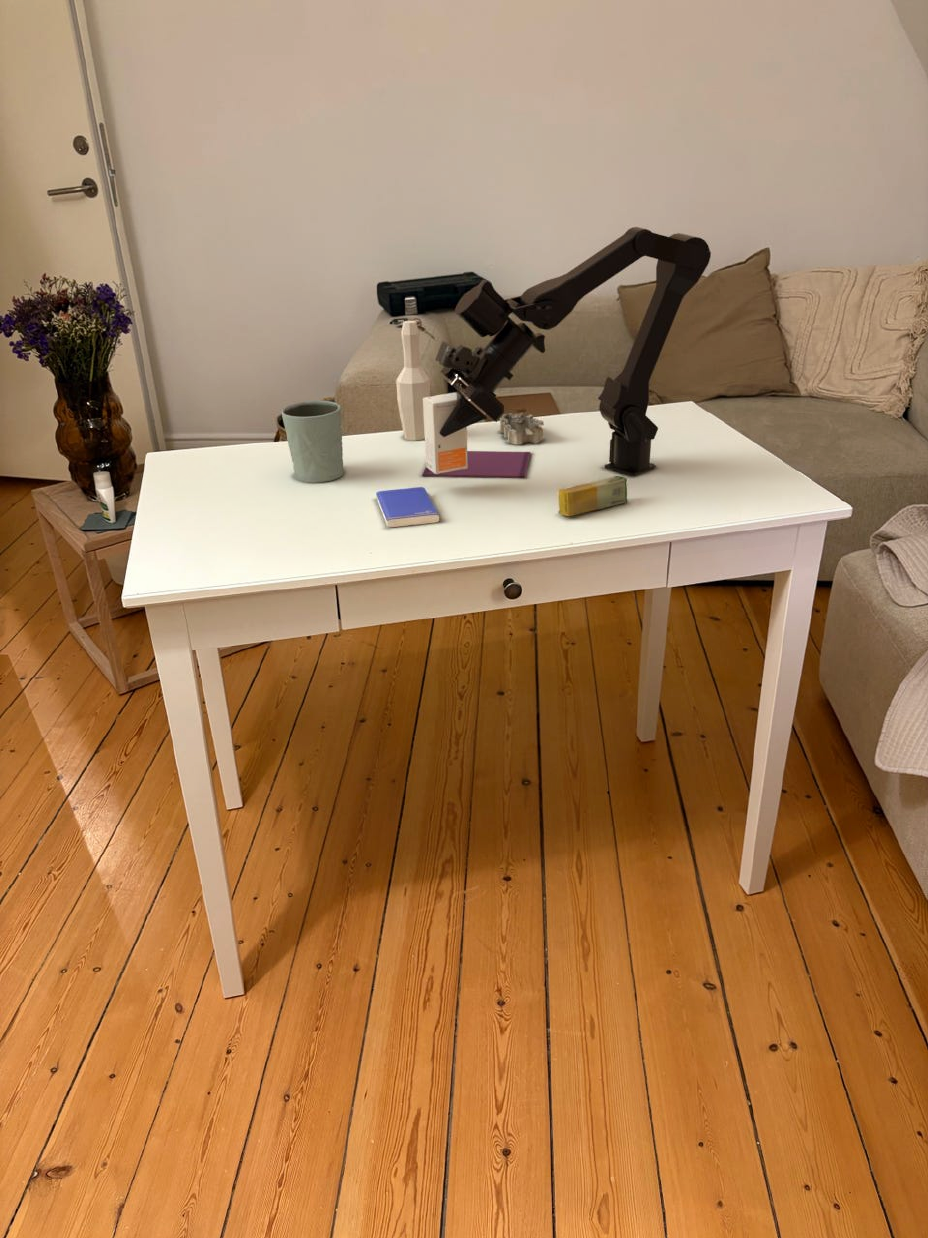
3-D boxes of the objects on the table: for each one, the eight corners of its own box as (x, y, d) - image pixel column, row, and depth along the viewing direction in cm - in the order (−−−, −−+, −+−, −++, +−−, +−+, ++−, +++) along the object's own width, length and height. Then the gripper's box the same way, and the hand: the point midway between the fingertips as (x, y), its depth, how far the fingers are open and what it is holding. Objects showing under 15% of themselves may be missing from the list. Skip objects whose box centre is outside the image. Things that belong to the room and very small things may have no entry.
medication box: (617, 499, 158) (617, 475, 156) (628, 502, 156) (628, 478, 154) (557, 513, 152) (557, 488, 151) (568, 517, 150) (567, 492, 149)
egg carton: (545, 443, 184) (545, 422, 182) (506, 446, 184) (506, 425, 182) (535, 427, 194) (535, 407, 192) (497, 429, 193) (497, 409, 191)
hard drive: (438, 512, 151) (424, 486, 161) (386, 518, 149) (375, 491, 160) (439, 522, 151) (425, 494, 162) (387, 527, 150) (376, 500, 161)
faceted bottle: (431, 441, 188) (425, 324, 177) (398, 442, 188) (391, 325, 177) (432, 431, 193) (427, 317, 183) (401, 432, 193) (393, 318, 183)
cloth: (530, 453, 179) (530, 451, 179) (524, 478, 168) (524, 475, 168) (434, 452, 182) (434, 450, 181) (422, 476, 170) (422, 473, 170)
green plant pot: (352, 479, 170) (346, 412, 164) (295, 487, 167) (287, 419, 161) (339, 462, 178) (333, 397, 173) (284, 469, 175) (276, 404, 170)
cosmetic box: (436, 475, 159) (431, 403, 153) (425, 467, 162) (421, 397, 157) (469, 468, 161) (466, 397, 155) (458, 461, 165) (455, 391, 159)
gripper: (450, 312, 159) (389, 386, 162) (481, 334, 144) (414, 416, 146) (497, 355, 165) (437, 426, 168) (532, 381, 149) (466, 459, 152)
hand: (437, 430), depth 158 cm, fingers closed on cosmetic box, 4 cm apart
